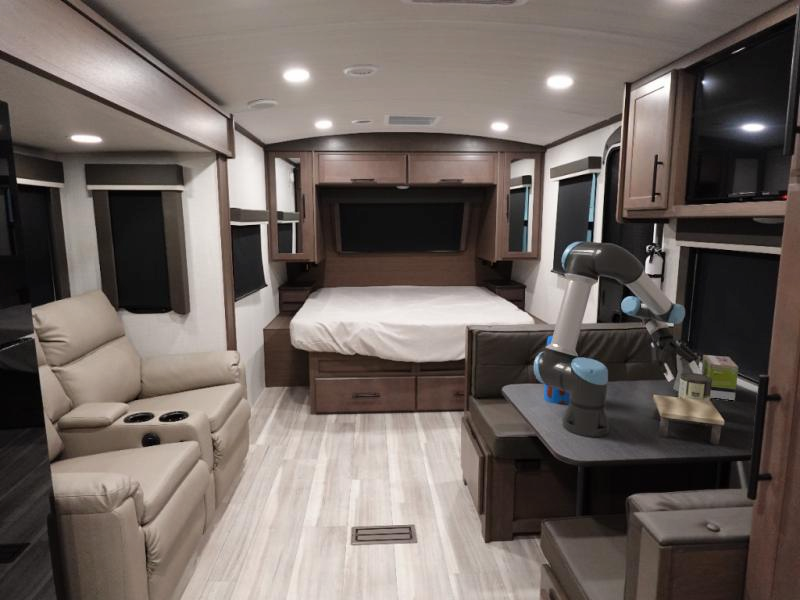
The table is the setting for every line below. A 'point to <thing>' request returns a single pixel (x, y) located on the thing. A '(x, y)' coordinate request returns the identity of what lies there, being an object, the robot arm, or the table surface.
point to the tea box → (721, 376)
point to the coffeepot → (683, 369)
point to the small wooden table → (687, 414)
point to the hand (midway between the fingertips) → (685, 378)
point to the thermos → (555, 390)
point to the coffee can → (695, 386)
